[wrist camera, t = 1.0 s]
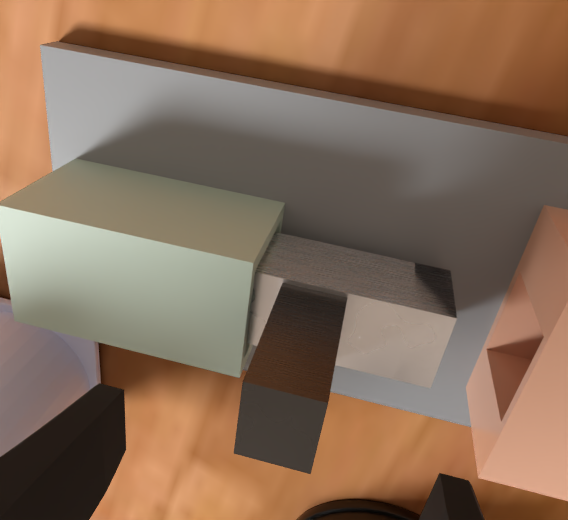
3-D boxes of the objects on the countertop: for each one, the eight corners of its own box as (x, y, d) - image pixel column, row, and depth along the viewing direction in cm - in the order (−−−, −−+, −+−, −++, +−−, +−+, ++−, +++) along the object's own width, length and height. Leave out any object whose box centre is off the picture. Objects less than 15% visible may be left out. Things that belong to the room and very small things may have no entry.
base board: (80, 313, 24) (68, 326, 24) (57, 41, 18) (40, 44, 17) (562, 432, 22) (568, 451, 21) (721, 165, 16) (739, 176, 15)
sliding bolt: (82, 254, 20) (-58, 378, 14) (78, 188, 19) (-81, 294, 13) (427, 335, 19) (436, 512, 13) (450, 270, 17) (473, 434, 11)
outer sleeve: (83, 259, 22) (14, 321, 18) (75, 158, 19) (-5, 204, 16) (270, 303, 21) (239, 377, 17) (285, 202, 18) (253, 262, 15)
